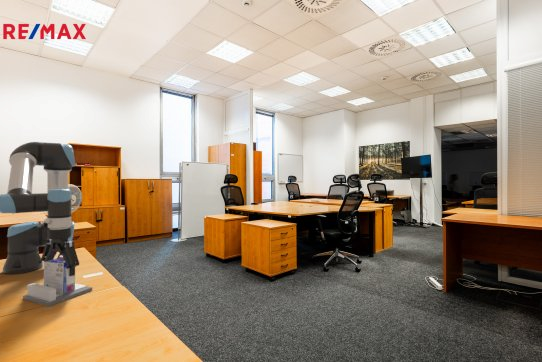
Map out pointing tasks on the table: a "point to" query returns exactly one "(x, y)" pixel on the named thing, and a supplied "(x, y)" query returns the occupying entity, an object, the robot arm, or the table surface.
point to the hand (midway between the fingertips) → (59, 281)
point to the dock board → (60, 298)
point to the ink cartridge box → (57, 275)
